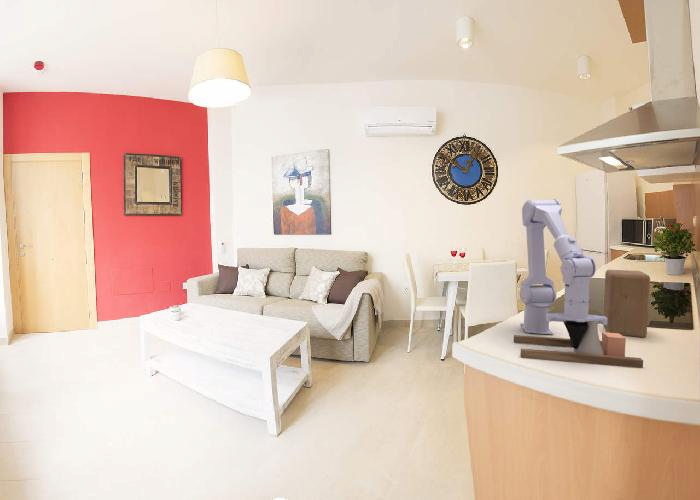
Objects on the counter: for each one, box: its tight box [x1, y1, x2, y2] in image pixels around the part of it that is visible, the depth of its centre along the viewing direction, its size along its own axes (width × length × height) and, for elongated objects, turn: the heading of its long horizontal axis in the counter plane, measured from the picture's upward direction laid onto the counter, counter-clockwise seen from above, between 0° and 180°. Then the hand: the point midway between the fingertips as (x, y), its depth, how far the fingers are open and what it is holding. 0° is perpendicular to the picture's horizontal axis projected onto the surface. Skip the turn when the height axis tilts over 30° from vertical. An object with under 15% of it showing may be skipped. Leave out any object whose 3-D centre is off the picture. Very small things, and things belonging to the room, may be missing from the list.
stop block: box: [601, 331, 627, 357], centre depth 95 cm, size 4×4×6 cm
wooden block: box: [602, 269, 651, 338], centre depth 113 cm, size 10×10×20 cm
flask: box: [573, 321, 604, 355], centre depth 96 cm, size 7×7×10 cm
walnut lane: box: [513, 334, 644, 369], centre depth 97 cm, size 13×28×2 cm, turn 73°
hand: (574, 347), depth 97 cm, fingers closed, pressing on flask
